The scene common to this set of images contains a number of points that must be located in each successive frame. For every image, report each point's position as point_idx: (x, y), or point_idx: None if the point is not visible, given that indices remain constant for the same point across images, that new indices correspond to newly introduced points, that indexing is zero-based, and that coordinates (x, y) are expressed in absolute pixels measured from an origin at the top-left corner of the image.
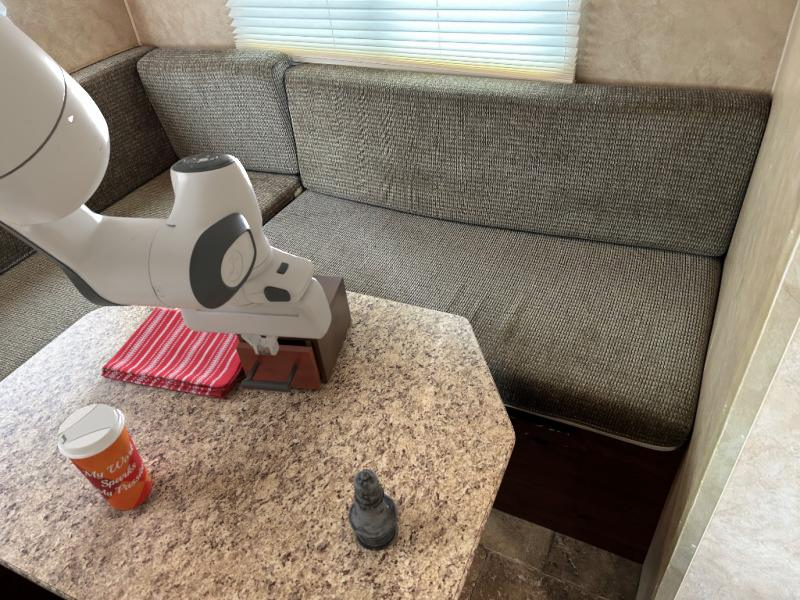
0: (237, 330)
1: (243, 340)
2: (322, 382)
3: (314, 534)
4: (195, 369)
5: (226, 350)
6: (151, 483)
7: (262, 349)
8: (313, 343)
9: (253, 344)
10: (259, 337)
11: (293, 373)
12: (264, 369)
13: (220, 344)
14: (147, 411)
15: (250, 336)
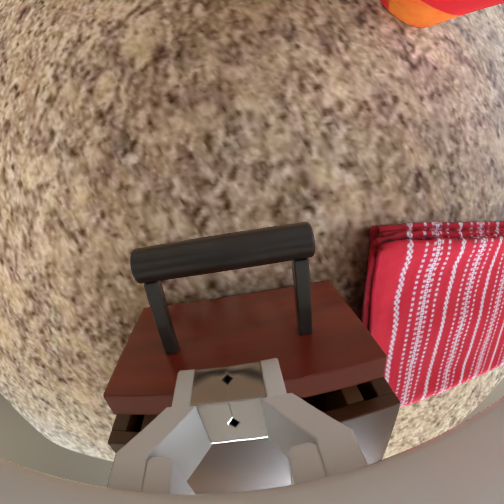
0: (380, 500)
1: (372, 385)
2: None
3: (36, 18)
4: (450, 278)
5: (409, 342)
6: (385, 2)
7: (233, 388)
8: (126, 424)
9: (280, 405)
10: (274, 439)
11: (155, 322)
12: (282, 320)
13: (422, 349)
14: (481, 167)
15: (290, 457)
